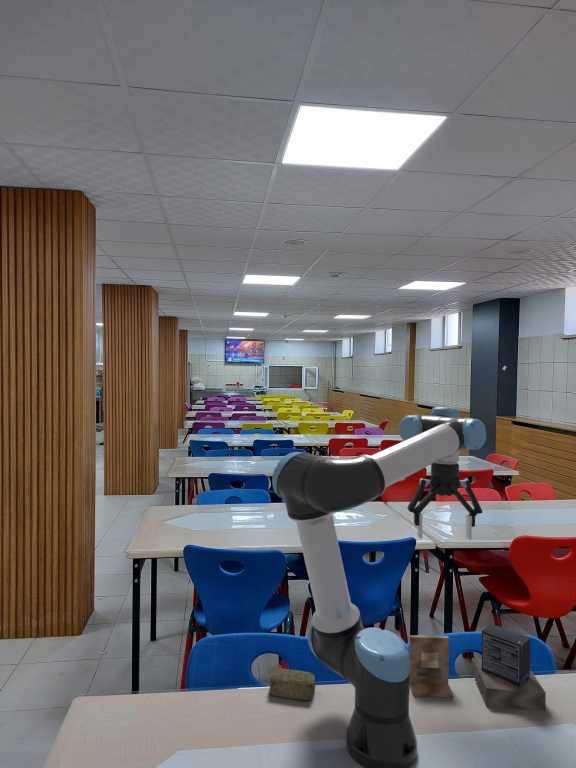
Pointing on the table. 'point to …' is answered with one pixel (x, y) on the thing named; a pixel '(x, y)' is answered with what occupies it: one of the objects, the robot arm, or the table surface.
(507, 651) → the small box
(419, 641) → the stand
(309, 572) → the robot arm
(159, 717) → the table surface
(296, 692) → the stone block
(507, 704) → the base block
